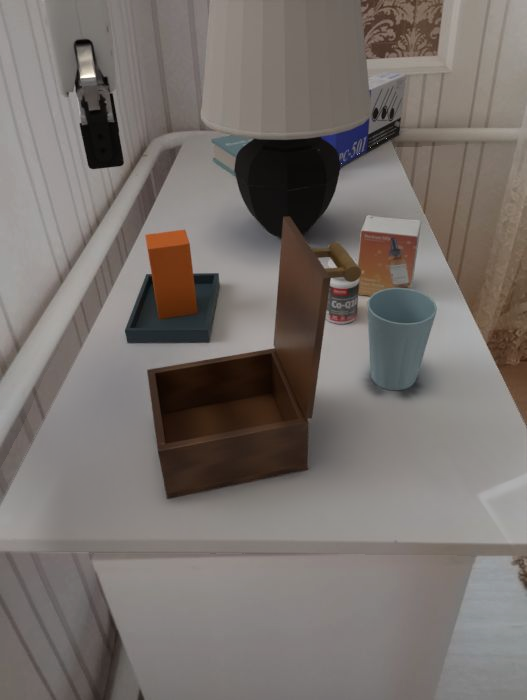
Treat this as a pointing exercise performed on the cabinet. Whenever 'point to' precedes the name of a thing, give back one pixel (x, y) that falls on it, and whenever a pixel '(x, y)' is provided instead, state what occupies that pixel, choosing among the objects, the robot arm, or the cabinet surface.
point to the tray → (175, 329)
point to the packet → (172, 273)
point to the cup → (398, 335)
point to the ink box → (373, 119)
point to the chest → (226, 422)
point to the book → (228, 151)
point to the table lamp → (286, 98)
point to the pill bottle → (342, 299)
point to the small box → (387, 253)
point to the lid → (305, 308)
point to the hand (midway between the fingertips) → (105, 150)
